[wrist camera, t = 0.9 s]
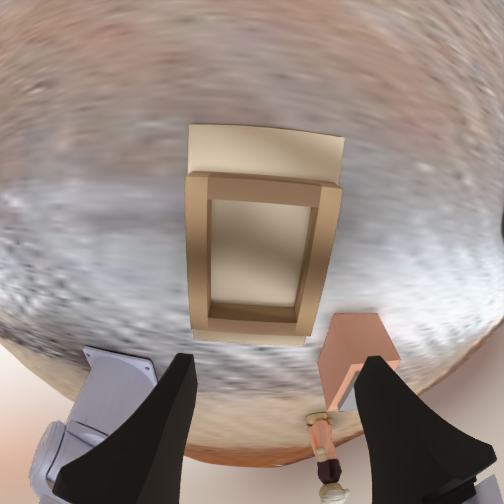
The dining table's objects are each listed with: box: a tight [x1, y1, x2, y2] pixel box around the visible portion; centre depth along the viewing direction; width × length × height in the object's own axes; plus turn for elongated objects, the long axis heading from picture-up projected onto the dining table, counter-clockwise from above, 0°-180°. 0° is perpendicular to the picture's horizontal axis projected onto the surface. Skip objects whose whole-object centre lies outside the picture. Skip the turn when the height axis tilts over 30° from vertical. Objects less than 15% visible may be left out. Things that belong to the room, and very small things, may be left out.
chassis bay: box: [185, 125, 345, 346], centre depth 17 cm, size 16×9×2 cm, turn 176°
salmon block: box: [317, 314, 401, 411], centre depth 19 cm, size 6×4×6 cm, turn 176°
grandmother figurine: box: [305, 413, 350, 504], centre depth 23 cm, size 8×4×13 cm, turn 40°
